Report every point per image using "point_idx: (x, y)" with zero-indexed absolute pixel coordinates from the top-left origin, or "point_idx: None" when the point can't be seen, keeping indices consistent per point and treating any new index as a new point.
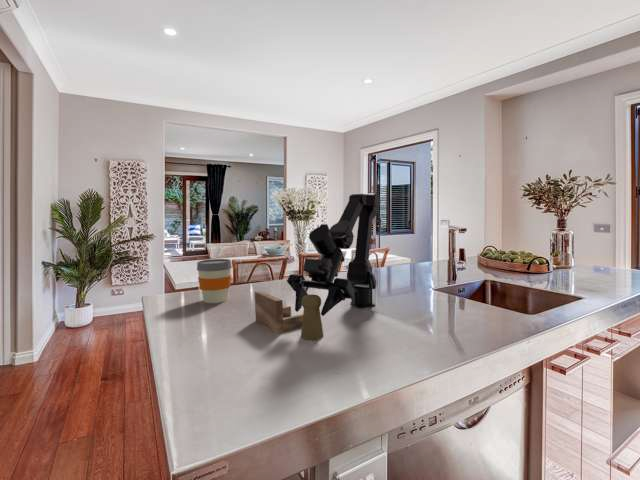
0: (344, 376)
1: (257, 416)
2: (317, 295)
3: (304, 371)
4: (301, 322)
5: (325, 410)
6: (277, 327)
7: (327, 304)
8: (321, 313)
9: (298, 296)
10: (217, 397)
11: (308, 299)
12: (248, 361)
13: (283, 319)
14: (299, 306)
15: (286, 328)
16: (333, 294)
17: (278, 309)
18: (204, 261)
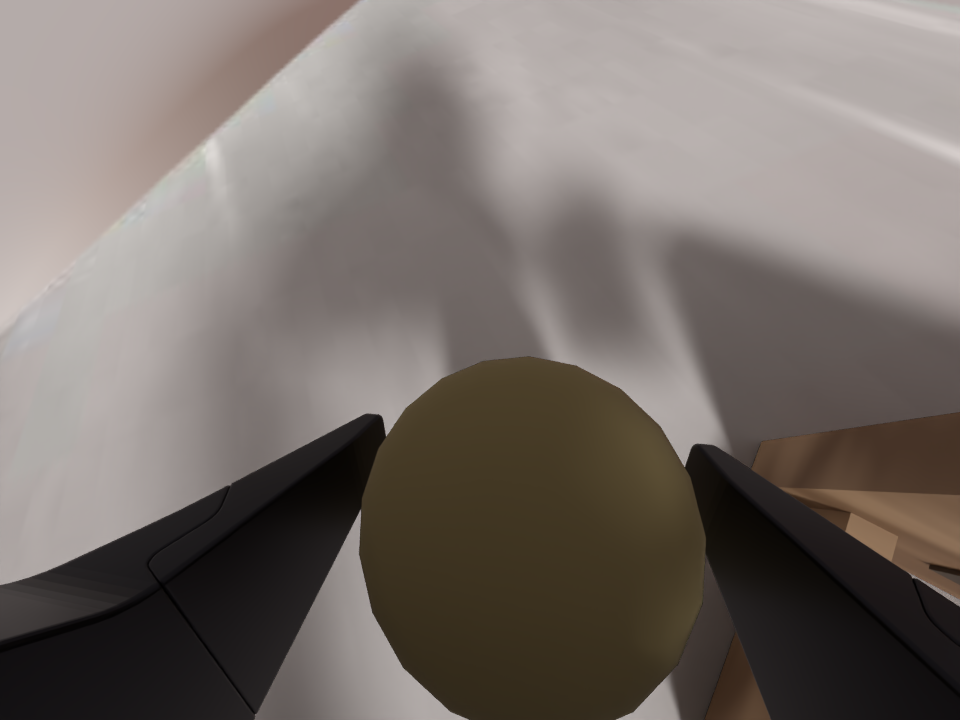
0: (271, 198)
1: (415, 9)
2: (418, 635)
3: (397, 171)
4: (734, 701)
5: (290, 75)
6: (789, 441)
7: (265, 468)
8: (373, 415)
9: (882, 602)
10: (544, 4)
11: (498, 363)
12: (623, 141)
13: None
14: (713, 523)
15: None
16: (7, 587)
17: (947, 440)
18: None
